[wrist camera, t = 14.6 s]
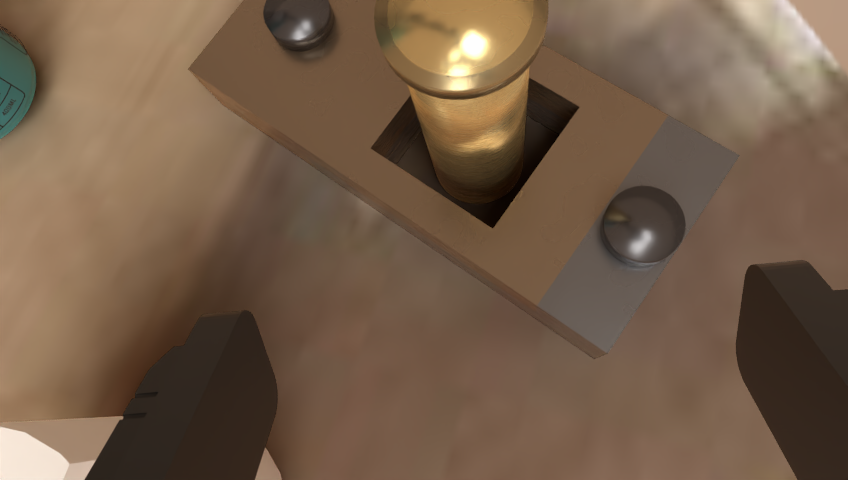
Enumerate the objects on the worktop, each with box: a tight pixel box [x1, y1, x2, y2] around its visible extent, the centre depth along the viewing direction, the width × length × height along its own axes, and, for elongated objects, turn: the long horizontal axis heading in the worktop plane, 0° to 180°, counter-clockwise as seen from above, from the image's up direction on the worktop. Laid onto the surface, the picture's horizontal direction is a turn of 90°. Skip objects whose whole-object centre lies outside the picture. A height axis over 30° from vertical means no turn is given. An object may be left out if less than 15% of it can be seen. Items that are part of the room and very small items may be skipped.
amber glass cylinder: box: [374, 0, 548, 204], centre depth 23 cm, size 5×5×12 cm
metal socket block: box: [188, 0, 740, 359], centre depth 27 cm, size 21×9×5 cm, turn 54°
